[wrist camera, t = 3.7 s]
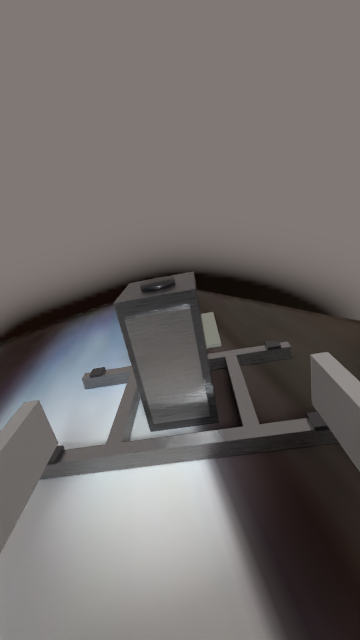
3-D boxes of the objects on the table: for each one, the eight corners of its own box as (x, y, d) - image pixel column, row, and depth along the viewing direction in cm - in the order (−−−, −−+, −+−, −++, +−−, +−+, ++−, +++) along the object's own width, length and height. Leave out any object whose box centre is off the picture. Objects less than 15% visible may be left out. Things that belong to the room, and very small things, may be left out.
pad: (132, 360, 31) (131, 357, 31) (145, 326, 41) (144, 323, 41) (221, 346, 30) (220, 342, 30) (213, 314, 40) (212, 311, 40)
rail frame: (32, 481, 18) (23, 464, 18) (89, 382, 29) (84, 370, 28) (351, 442, 16) (352, 422, 16) (287, 352, 27) (286, 338, 26)
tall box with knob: (150, 435, 20) (110, 300, 16) (158, 388, 25) (129, 278, 22) (219, 426, 20) (194, 285, 16) (212, 380, 25) (192, 266, 21)
